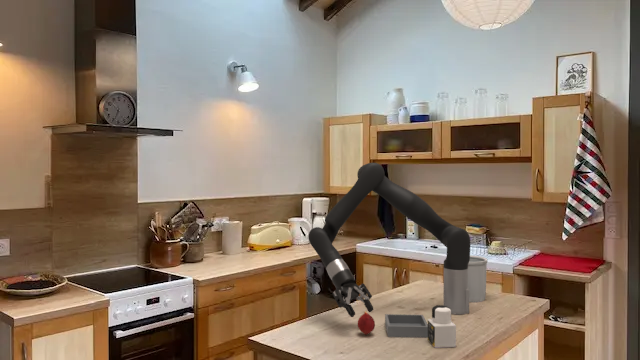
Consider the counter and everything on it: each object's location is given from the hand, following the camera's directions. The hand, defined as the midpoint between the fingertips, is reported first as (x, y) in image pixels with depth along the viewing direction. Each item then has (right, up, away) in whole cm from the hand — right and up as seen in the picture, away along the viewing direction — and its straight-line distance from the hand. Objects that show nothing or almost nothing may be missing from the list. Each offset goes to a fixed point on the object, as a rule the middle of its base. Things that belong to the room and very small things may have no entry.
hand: (362, 313), depth 169 cm
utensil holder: (+50, -6, +45) cm, 68 cm away
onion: (+1, -7, -1) cm, 7 cm away
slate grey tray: (+15, -7, +3) cm, 17 cm away
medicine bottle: (+25, -7, -10) cm, 27 cm away
